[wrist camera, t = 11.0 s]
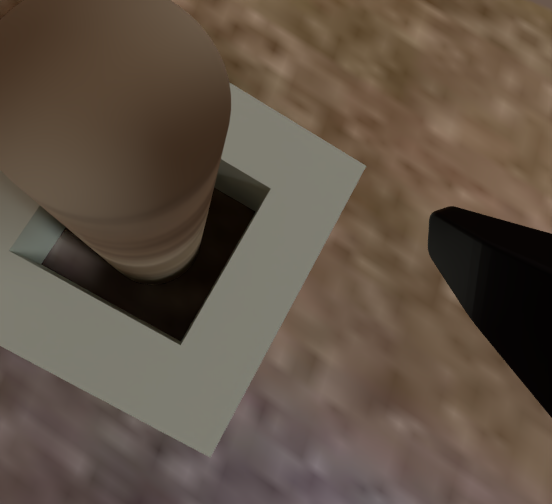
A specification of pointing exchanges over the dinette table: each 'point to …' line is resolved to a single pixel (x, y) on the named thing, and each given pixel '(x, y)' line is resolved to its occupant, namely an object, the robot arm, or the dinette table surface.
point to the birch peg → (115, 125)
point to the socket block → (216, 307)
